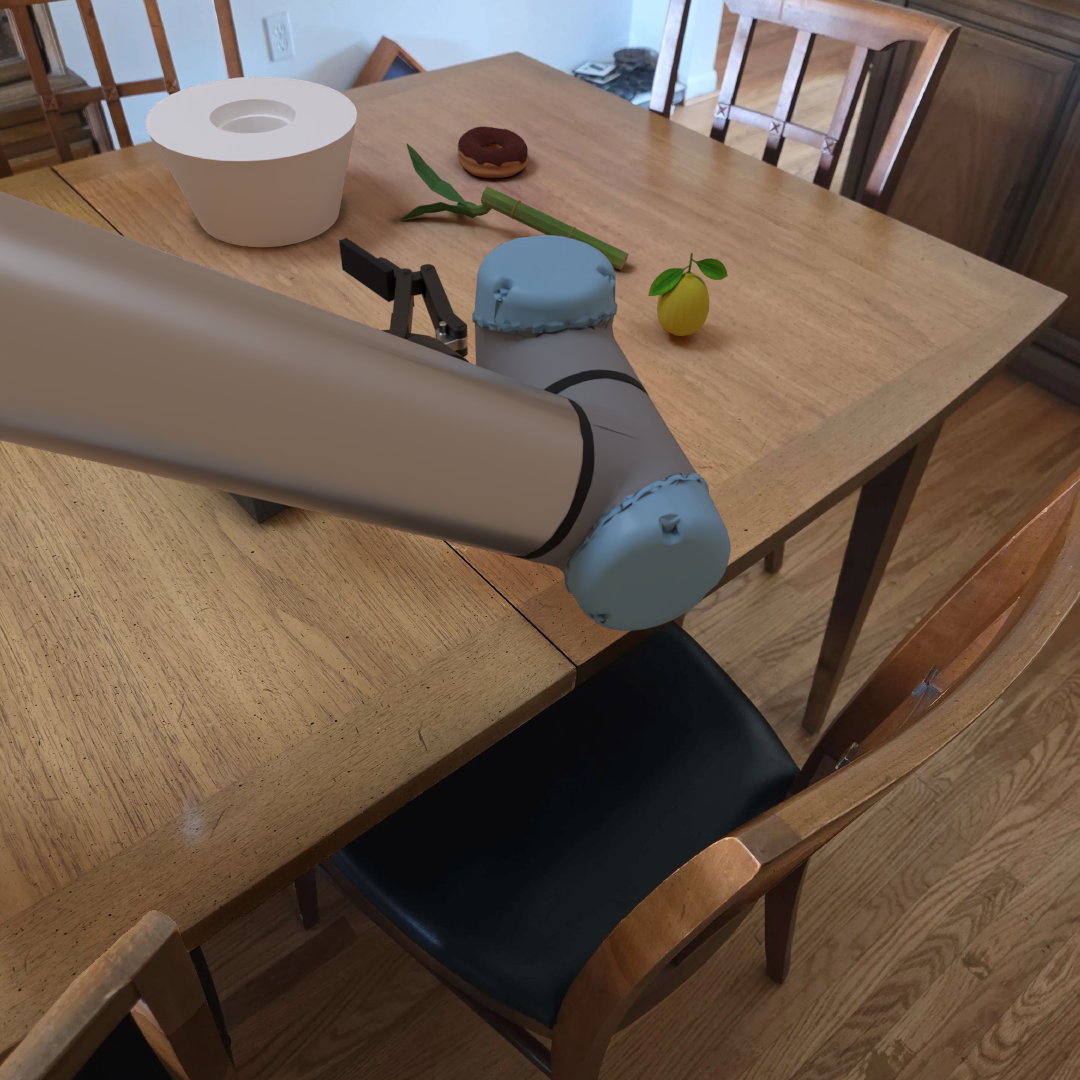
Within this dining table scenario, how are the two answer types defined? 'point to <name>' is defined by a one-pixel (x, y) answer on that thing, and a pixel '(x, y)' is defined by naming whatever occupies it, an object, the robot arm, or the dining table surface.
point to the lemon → (685, 296)
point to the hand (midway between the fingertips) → (273, 280)
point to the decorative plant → (504, 211)
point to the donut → (492, 152)
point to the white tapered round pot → (257, 156)
